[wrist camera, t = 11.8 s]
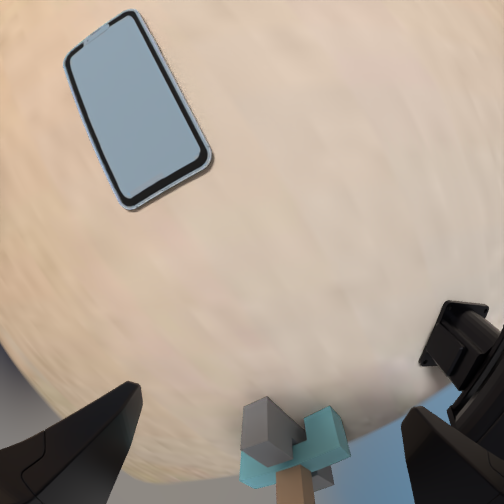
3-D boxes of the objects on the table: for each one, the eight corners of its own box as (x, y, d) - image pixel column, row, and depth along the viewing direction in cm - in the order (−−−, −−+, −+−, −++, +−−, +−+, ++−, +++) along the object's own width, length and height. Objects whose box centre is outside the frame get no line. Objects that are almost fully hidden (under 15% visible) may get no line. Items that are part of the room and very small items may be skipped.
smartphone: (124, 215, 18) (60, 59, 14) (130, 213, 19) (66, 62, 15) (217, 161, 17) (134, 3, 13) (219, 161, 18) (139, 9, 14)
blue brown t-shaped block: (329, 405, 22) (352, 500, 12) (340, 417, 23) (363, 506, 12) (242, 442, 24) (235, 528, 14) (256, 452, 24) (253, 533, 14)
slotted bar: (243, 406, 22) (240, 449, 17) (266, 396, 22) (267, 440, 17) (307, 458, 25) (312, 492, 20) (327, 450, 24) (334, 484, 19)
